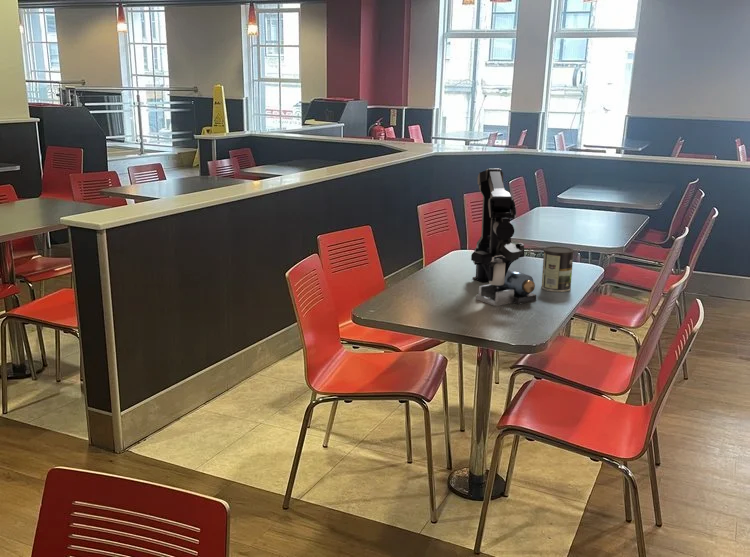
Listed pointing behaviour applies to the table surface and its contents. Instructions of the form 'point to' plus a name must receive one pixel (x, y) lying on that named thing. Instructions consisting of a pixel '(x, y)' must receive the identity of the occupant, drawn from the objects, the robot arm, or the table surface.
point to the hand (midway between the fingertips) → (496, 279)
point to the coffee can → (557, 269)
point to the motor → (509, 290)
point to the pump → (498, 273)
